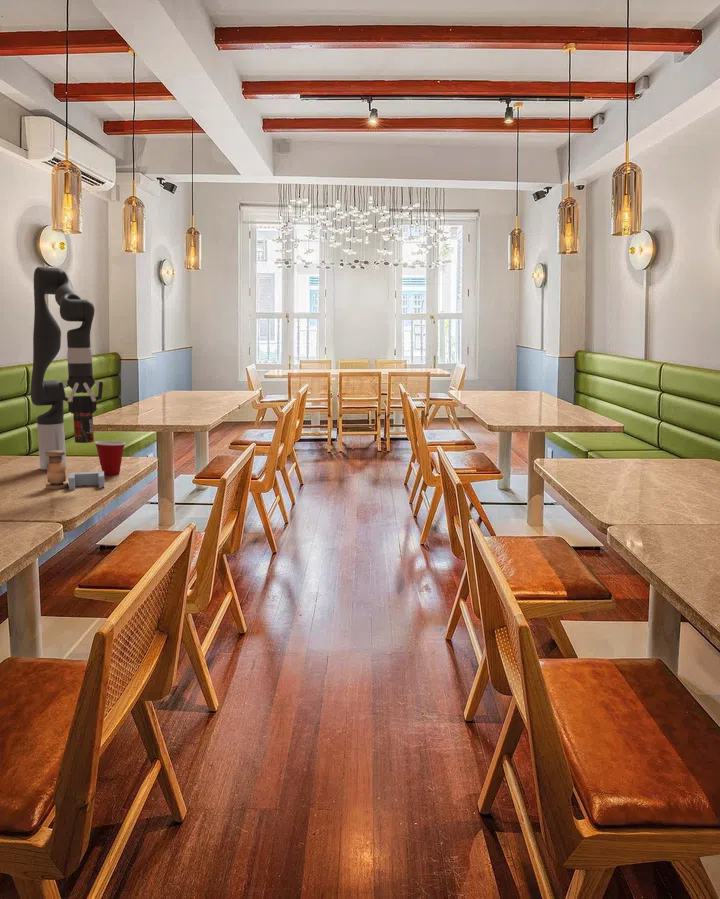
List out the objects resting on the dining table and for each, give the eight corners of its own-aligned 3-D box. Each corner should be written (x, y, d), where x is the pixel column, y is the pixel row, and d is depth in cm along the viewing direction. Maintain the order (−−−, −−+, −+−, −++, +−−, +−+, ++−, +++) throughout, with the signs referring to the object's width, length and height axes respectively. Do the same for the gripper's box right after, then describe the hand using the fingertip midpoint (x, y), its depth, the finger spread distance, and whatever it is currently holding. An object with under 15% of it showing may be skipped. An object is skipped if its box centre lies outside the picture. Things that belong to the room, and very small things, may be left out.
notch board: (70, 484, 254) (69, 473, 254) (104, 482, 258) (103, 471, 257) (69, 490, 246) (68, 478, 245) (104, 487, 249) (103, 476, 249)
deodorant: (77, 440, 251) (75, 395, 248) (96, 440, 251) (93, 395, 249) (72, 443, 245) (69, 397, 242) (91, 442, 245) (88, 397, 243)
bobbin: (46, 485, 252) (44, 450, 250) (68, 484, 255) (66, 449, 253) (45, 490, 246) (42, 454, 244) (67, 488, 248) (65, 453, 246)
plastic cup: (133, 473, 274) (131, 441, 272) (105, 478, 266) (103, 444, 264) (117, 469, 281) (116, 438, 279) (90, 473, 273) (88, 441, 271)
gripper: (103, 361, 249) (105, 411, 252) (56, 361, 245) (60, 412, 248) (103, 362, 242) (105, 413, 245) (55, 362, 238) (58, 415, 241)
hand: (82, 412), depth 246 cm, fingers closed on deodorant, 6 cm apart
